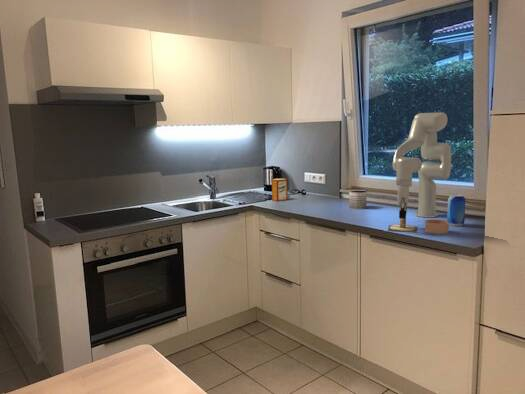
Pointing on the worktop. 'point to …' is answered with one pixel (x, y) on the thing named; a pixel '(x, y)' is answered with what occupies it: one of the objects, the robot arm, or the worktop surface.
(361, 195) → the ribbed plant pot
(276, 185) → the baking soda box
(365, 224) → the worktop surface
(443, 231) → the bowl
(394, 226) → the lid
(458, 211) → the beer can
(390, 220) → the worktop surface
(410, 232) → the mat
